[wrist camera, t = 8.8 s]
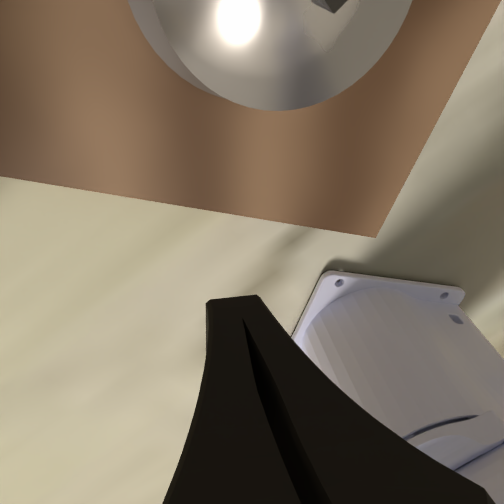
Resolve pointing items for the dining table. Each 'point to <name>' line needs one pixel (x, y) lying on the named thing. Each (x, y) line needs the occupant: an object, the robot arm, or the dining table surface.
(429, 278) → the dining table surface
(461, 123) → the dining table surface
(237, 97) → the steel cap
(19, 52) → the post base
